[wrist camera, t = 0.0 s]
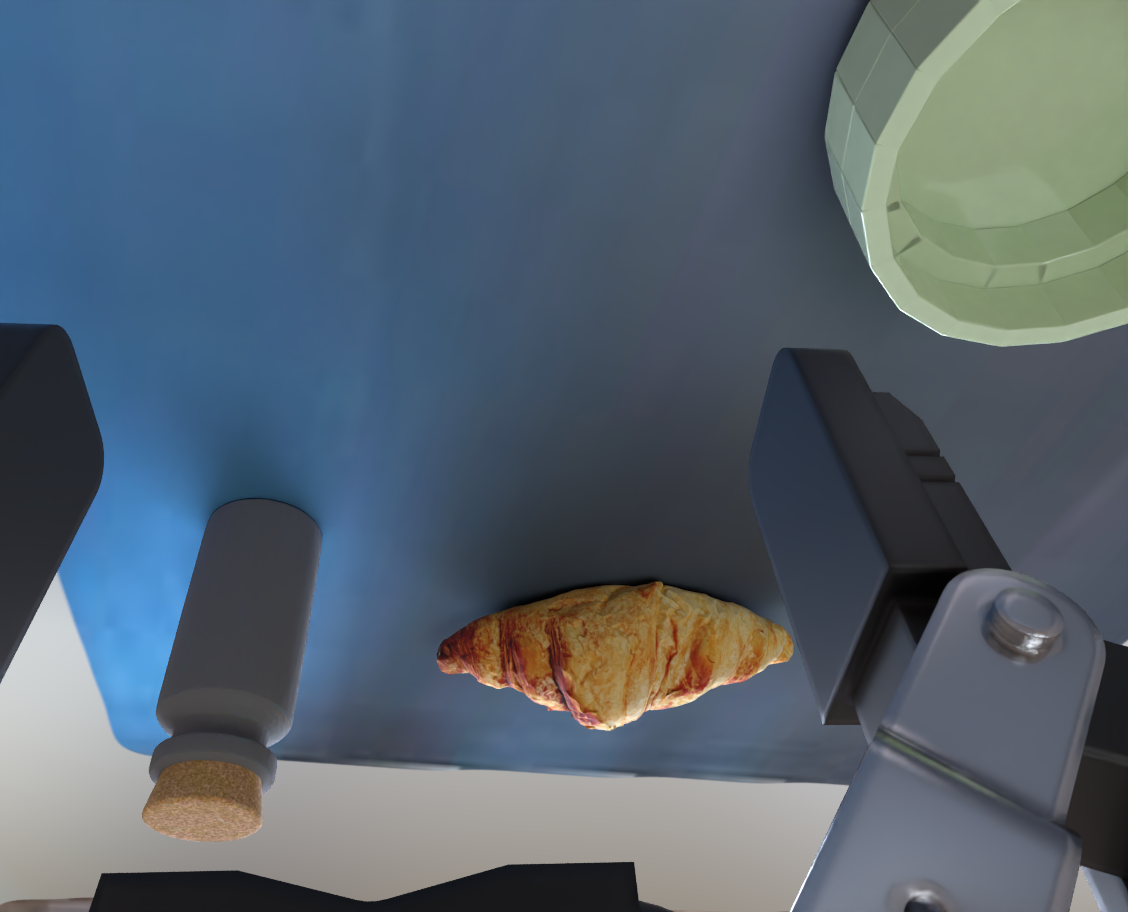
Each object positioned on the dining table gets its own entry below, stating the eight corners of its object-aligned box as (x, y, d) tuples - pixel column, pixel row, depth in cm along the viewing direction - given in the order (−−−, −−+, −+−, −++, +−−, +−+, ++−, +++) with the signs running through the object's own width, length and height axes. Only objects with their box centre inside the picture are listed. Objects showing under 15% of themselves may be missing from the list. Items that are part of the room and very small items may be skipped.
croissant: (784, 545, 56) (830, 608, 49) (770, 686, 60) (812, 765, 52) (436, 555, 55) (430, 622, 47) (442, 699, 58) (437, 783, 50)
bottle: (188, 503, 46) (99, 800, 36) (303, 491, 46) (247, 787, 35) (230, 570, 50) (162, 853, 40) (336, 560, 50) (294, 842, 40)
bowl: (1100, -295, 24) (1210, -251, 20) (1360, 9, 30) (1480, 85, 27) (737, 144, 33) (767, 231, 29) (996, 310, 39) (1048, 399, 35)
